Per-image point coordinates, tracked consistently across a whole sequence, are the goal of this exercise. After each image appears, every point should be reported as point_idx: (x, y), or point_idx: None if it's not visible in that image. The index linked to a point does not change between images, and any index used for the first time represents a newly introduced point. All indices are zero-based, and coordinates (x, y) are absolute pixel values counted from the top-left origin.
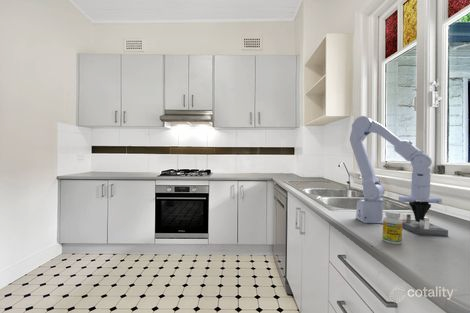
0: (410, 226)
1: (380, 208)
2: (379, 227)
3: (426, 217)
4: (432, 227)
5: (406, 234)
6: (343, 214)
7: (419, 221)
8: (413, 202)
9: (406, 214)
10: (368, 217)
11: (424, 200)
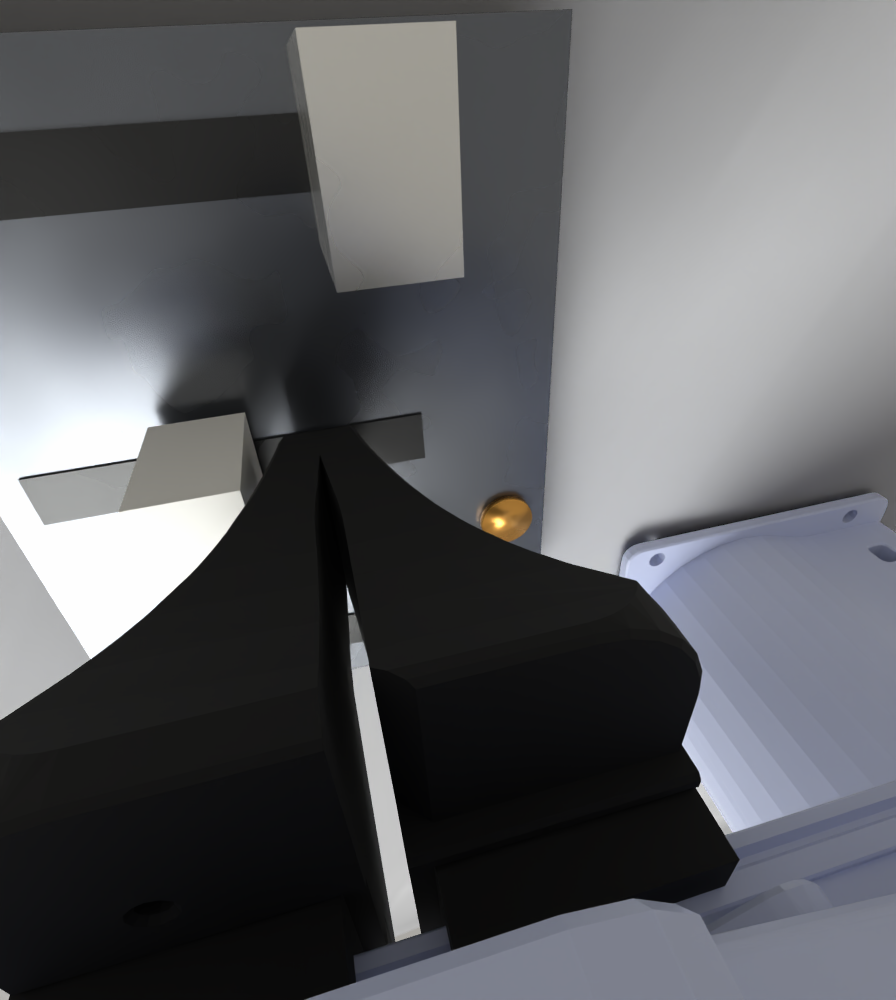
0: (550, 280)
1: (842, 698)
2: (836, 354)
3: (166, 550)
4: (117, 275)
5: (718, 4)
6: None
7: (350, 430)
8: (697, 835)
9: None
10: (860, 563)
11: (733, 980)
